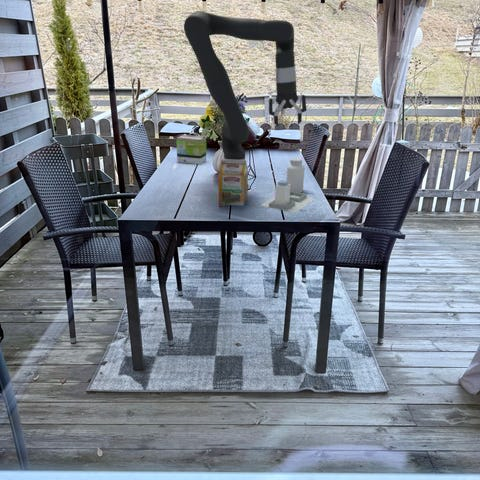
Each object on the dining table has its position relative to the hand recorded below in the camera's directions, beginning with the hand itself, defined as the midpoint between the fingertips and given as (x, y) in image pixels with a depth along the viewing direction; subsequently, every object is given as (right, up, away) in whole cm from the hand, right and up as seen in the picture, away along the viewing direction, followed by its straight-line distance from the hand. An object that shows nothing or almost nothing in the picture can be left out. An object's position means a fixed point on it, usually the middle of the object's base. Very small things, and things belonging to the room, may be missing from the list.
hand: (288, 124), depth 163 cm
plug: (-1, -31, +9) cm, 32 cm away
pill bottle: (+7, -22, +33) cm, 40 cm away
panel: (+2, -30, +15) cm, 34 cm away
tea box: (-47, +1, +85) cm, 97 cm away
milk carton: (-22, -30, +15) cm, 40 cm away
